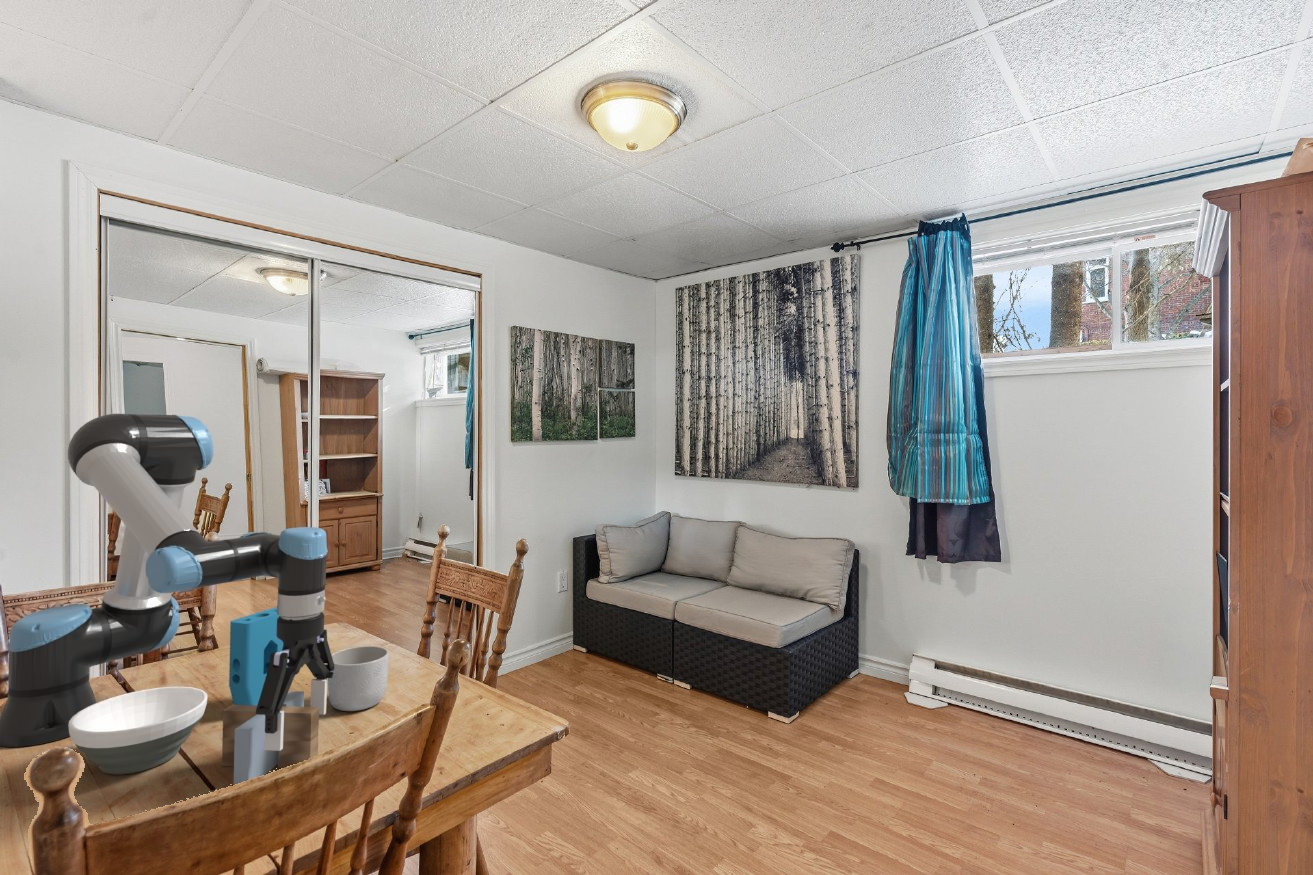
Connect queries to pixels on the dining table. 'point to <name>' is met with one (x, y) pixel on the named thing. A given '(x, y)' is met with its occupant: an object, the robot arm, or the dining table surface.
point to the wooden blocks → (296, 733)
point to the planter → (358, 677)
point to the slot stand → (257, 744)
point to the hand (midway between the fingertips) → (297, 730)
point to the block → (251, 654)
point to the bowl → (137, 728)
